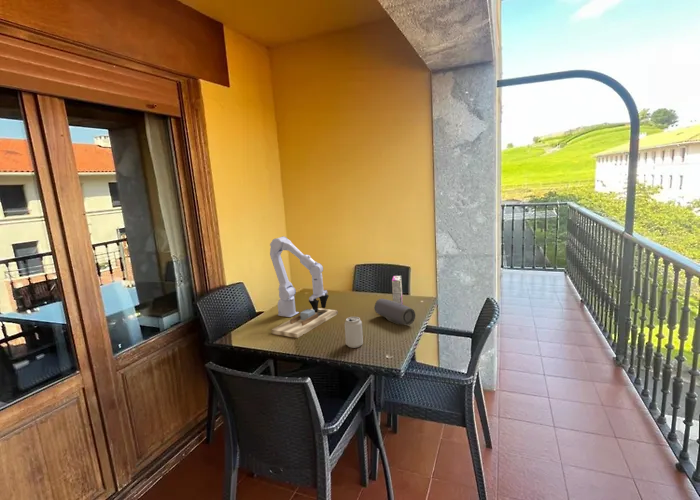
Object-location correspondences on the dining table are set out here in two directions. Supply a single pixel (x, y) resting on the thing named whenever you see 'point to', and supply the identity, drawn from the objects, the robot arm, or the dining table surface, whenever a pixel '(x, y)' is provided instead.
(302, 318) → the slate block
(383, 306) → the bluetooth speaker
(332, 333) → the dining table surface
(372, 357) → the dining table surface
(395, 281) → the candy bar box
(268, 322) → the dining table surface
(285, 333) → the birch deck
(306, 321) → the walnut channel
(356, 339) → the can
